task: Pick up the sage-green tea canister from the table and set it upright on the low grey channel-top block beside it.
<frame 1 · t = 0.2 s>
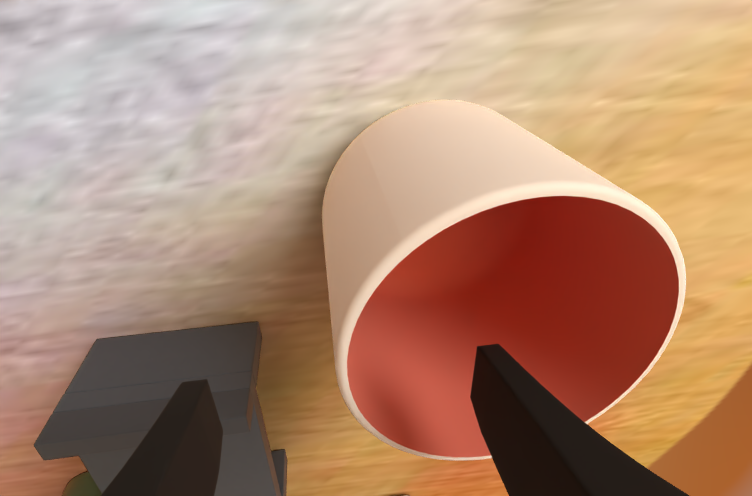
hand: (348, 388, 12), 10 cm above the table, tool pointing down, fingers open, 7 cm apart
grey channel-top block: (205, 407, 25), on the table
cup: (425, 200, 21), on the table
canister: (106, 491, 28), on the table
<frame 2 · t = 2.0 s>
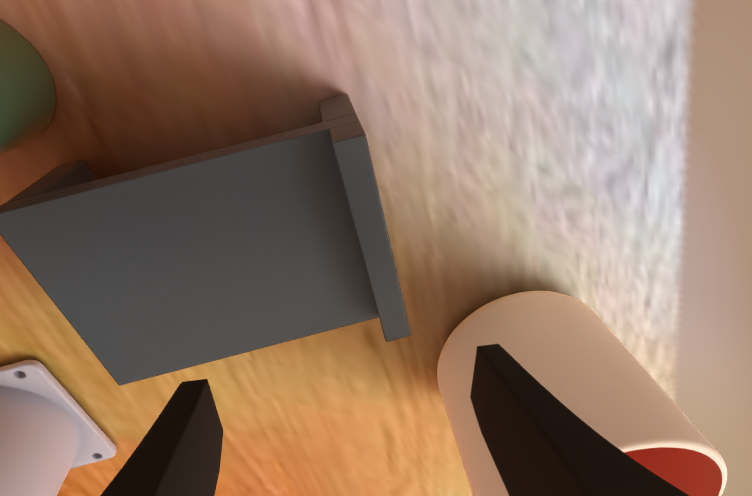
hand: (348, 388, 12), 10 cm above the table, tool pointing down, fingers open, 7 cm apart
grey channel-top block: (239, 215, 19), on the table
cup: (511, 345, 26), on the table
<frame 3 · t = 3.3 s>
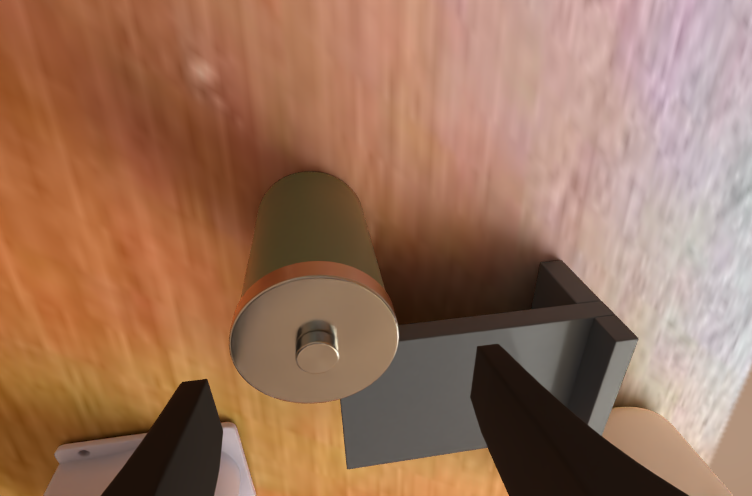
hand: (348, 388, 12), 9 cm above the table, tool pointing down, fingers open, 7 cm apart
grey channel-top block: (444, 332, 24), on the table
cup: (594, 442, 32), on the table
canister: (311, 220, 19), on the table
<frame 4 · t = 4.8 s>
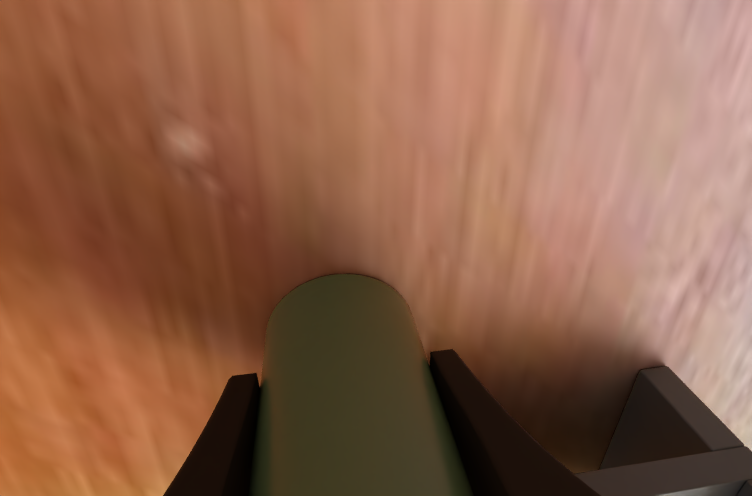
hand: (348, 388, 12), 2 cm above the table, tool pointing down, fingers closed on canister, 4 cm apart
grey channel-top block: (506, 451, 18), on the table
canister: (341, 333, 14), on the table, touching gripper
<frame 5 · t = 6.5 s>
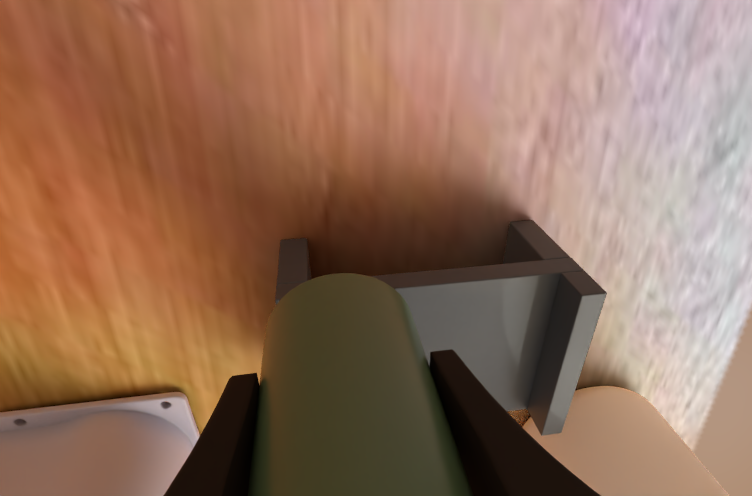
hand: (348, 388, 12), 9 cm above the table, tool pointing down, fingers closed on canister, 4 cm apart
grey channel-top block: (408, 297, 22), on the table
cup: (573, 424, 30), on the table
canister: (340, 332, 14), point 7 cm above the table, touching gripper
when the fingers open (7 cm above the table, at t = 8.3 s): canister stays where it is, resting on grey channel-top block.
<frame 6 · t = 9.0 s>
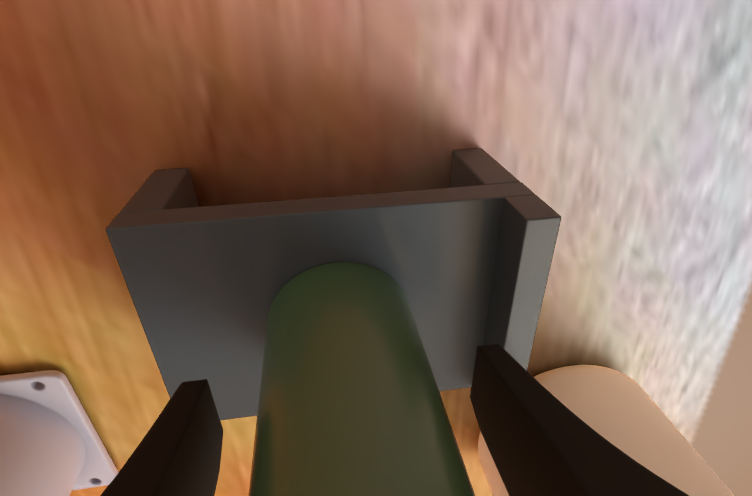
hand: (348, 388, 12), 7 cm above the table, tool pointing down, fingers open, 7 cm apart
grey channel-top block: (332, 251, 18), on the table
cup: (549, 412, 26), on the table
canister: (340, 320, 14), point 4 cm above the table, touching grey channel-top block
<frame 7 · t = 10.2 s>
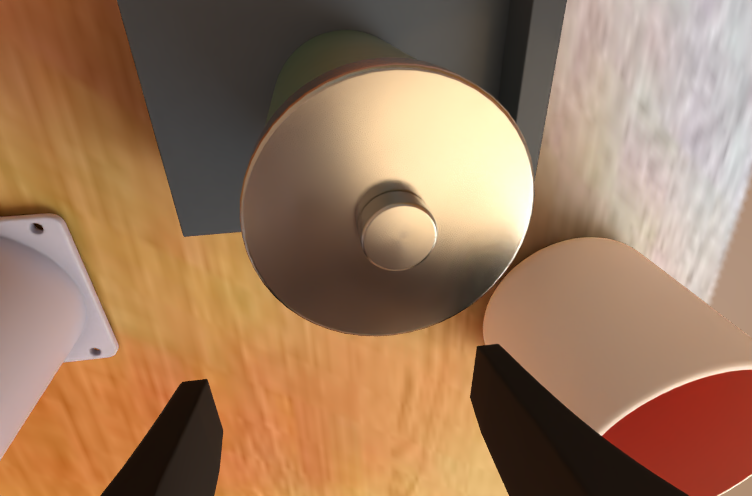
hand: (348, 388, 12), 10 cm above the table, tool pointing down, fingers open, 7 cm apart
grey channel-top block: (337, 85, 18), on the table
cup: (554, 299, 26), on the table
canister: (347, 110, 14), point 4 cm above the table, touching grey channel-top block
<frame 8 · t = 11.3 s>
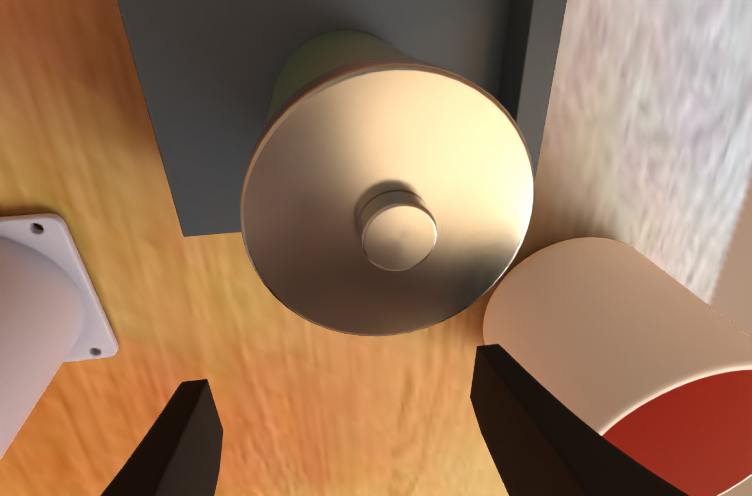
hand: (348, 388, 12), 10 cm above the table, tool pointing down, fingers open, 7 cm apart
grey channel-top block: (337, 85, 18), on the table
cup: (554, 299, 26), on the table
canister: (347, 110, 14), point 4 cm above the table, touching grey channel-top block
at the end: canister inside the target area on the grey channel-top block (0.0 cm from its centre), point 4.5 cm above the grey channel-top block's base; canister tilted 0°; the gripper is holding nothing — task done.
